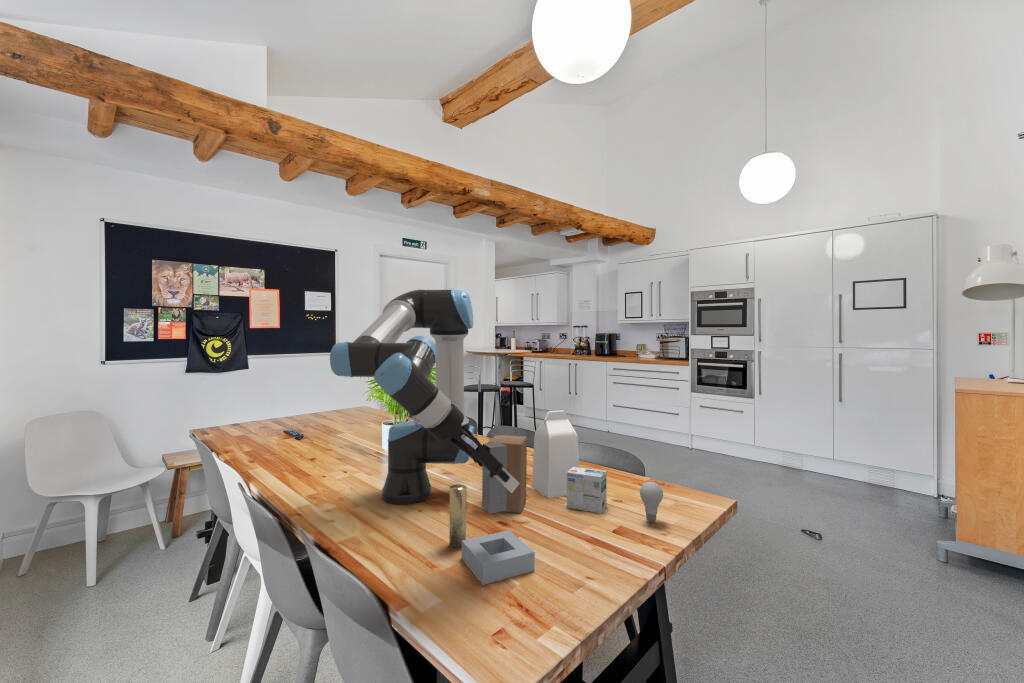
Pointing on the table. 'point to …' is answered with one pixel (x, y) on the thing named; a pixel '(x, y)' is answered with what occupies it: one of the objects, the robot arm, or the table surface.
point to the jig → (497, 556)
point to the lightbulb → (651, 499)
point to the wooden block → (515, 469)
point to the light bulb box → (586, 489)
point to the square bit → (494, 481)
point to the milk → (554, 454)
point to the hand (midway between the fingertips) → (510, 484)
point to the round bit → (457, 516)
